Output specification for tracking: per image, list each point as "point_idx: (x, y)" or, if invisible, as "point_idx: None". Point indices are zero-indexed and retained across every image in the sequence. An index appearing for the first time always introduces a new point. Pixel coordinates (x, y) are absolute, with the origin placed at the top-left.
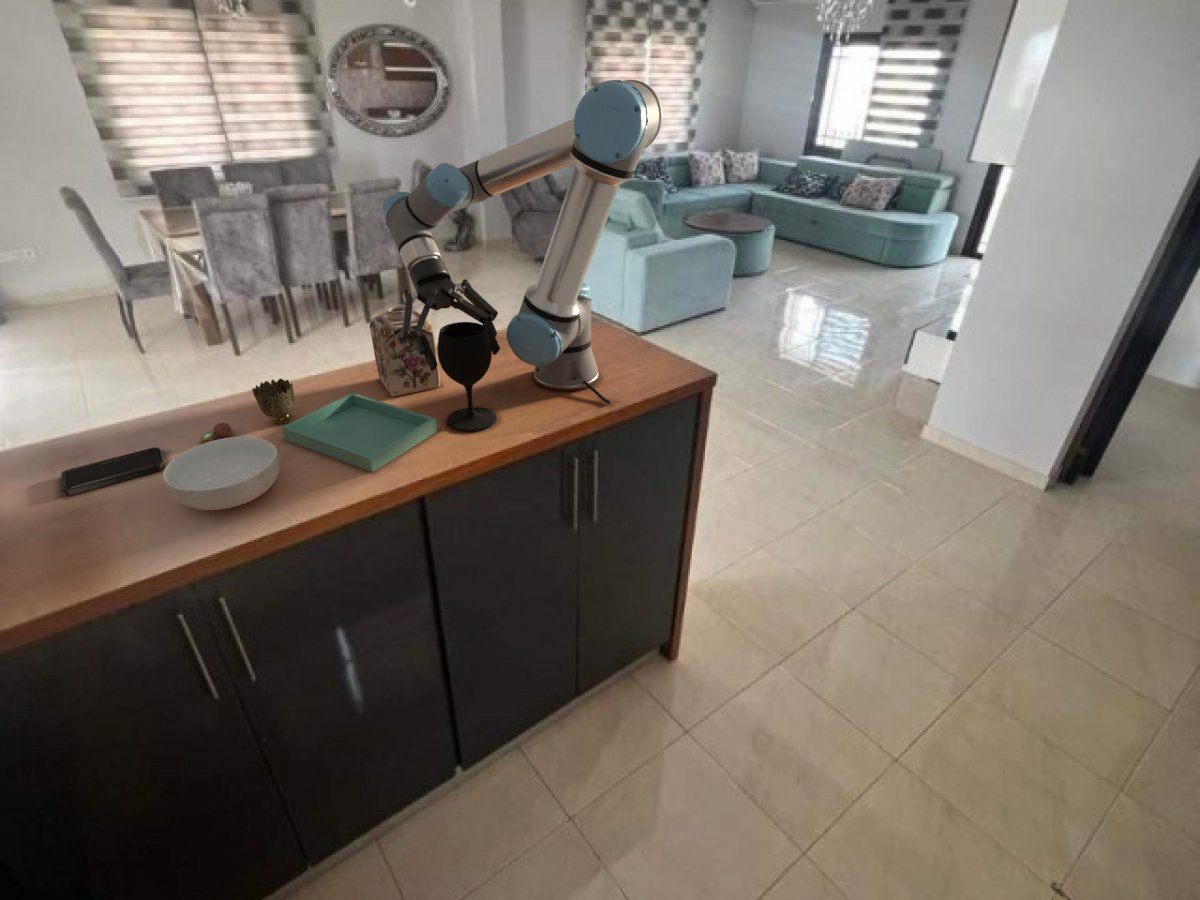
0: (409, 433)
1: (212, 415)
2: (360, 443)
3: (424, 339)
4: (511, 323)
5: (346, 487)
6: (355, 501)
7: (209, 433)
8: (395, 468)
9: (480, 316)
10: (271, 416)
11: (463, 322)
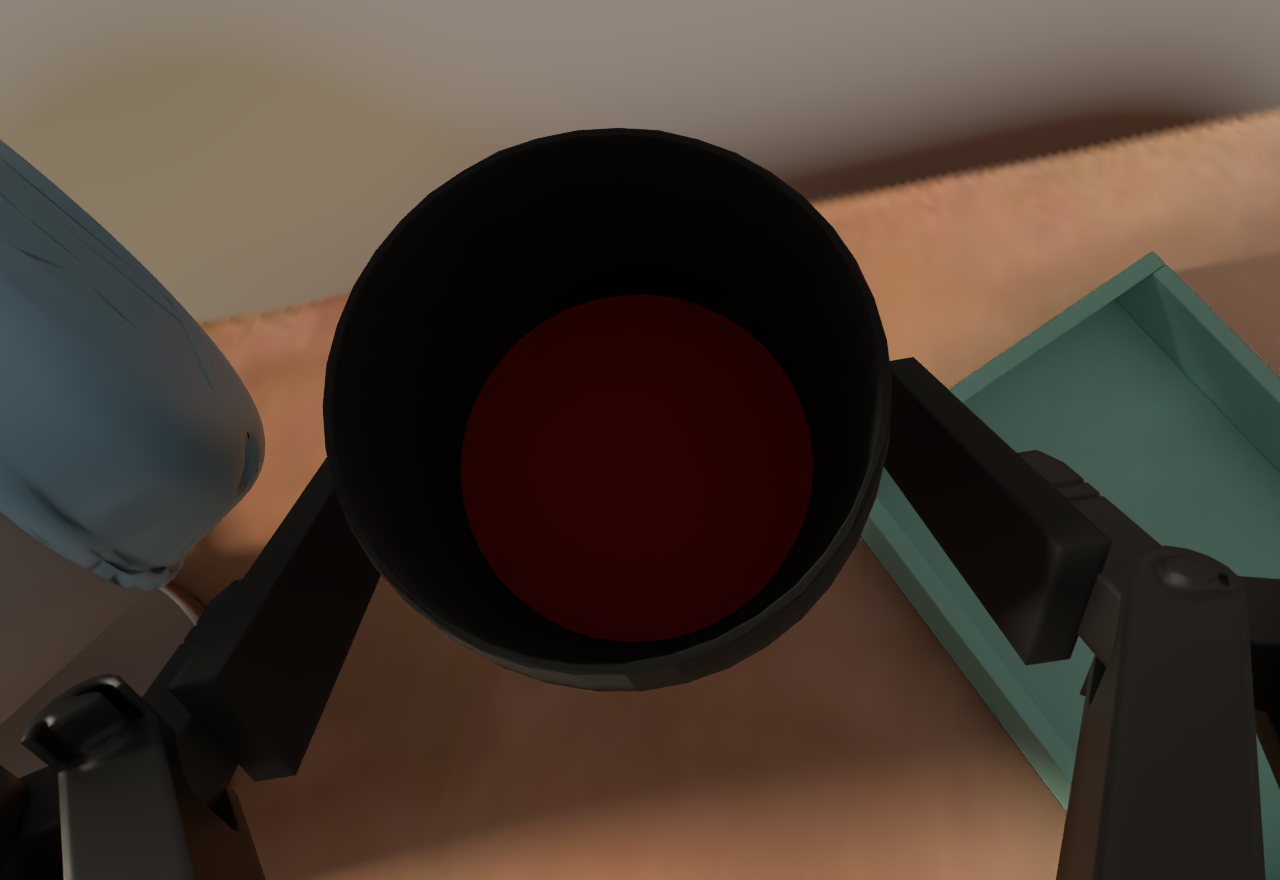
0: (971, 382)
1: None
2: (1159, 501)
3: (1047, 503)
4: (19, 307)
5: (1203, 225)
6: (1169, 138)
7: None
8: (1021, 275)
9: (189, 794)
10: None
11: (494, 646)
